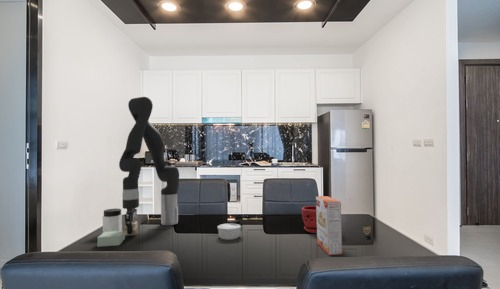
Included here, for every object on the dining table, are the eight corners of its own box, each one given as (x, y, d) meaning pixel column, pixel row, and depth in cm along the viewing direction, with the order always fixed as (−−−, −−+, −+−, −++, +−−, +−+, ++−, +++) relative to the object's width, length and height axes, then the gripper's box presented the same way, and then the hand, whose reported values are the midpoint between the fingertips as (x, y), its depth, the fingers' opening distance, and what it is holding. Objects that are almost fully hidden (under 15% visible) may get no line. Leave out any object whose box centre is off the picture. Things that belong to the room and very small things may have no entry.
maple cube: (137, 231, 142) (137, 221, 142) (135, 234, 137) (135, 224, 137) (127, 232, 141) (127, 222, 141) (124, 235, 136) (124, 224, 137)
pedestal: (124, 239, 134) (124, 230, 134) (119, 245, 125) (119, 236, 126) (104, 240, 133) (104, 231, 133) (97, 246, 124) (97, 237, 124)
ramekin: (244, 234, 139) (244, 224, 139) (235, 241, 129) (235, 229, 129) (223, 232, 143) (223, 222, 143) (213, 239, 132) (213, 228, 132)
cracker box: (316, 244, 123) (315, 196, 124) (329, 243, 123) (328, 195, 124) (327, 255, 109) (326, 201, 110) (342, 255, 110) (341, 201, 110)
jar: (103, 236, 139) (103, 212, 139) (101, 233, 145) (101, 209, 146) (123, 233, 144) (123, 210, 144) (120, 230, 150) (120, 207, 151)
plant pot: (330, 228, 147) (329, 205, 147) (325, 235, 135) (325, 210, 135) (305, 226, 152) (305, 204, 153) (299, 232, 140) (298, 208, 141)
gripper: (135, 200, 133) (135, 236, 133) (141, 195, 147) (142, 227, 147) (118, 200, 132) (119, 237, 132) (126, 196, 146) (127, 228, 146)
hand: (131, 232), depth 139 cm, fingers closed on maple cube, 5 cm apart
